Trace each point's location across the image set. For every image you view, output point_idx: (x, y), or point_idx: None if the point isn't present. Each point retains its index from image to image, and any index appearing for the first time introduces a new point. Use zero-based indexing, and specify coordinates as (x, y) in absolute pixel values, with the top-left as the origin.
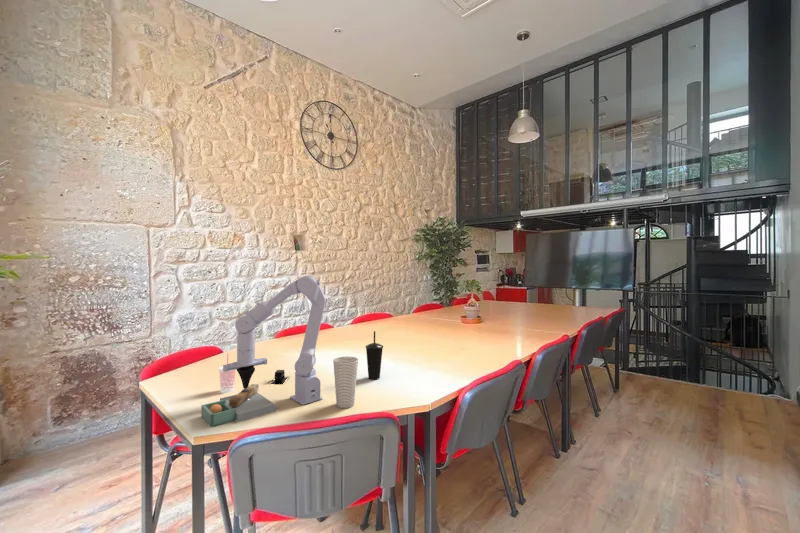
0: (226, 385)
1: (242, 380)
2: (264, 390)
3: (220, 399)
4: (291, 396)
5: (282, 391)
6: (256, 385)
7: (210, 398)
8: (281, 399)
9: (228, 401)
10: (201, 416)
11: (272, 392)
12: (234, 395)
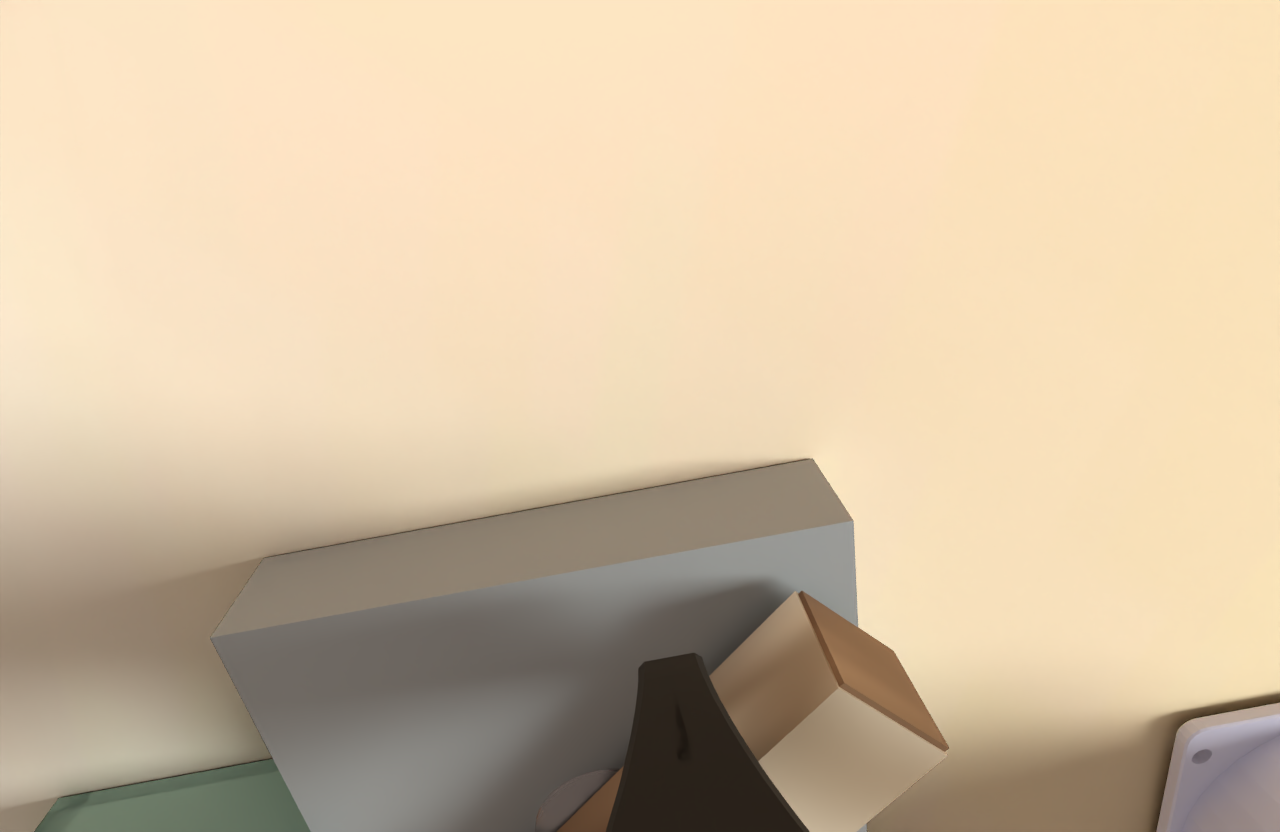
0: None
1: (637, 811)
2: (1091, 199)
3: (227, 653)
4: (1196, 751)
5: (1270, 431)
6: (885, 796)
7: (12, 62)
8: (1068, 713)
9: (365, 808)
10: (60, 802)
11: (1134, 392)
12: (471, 612)
